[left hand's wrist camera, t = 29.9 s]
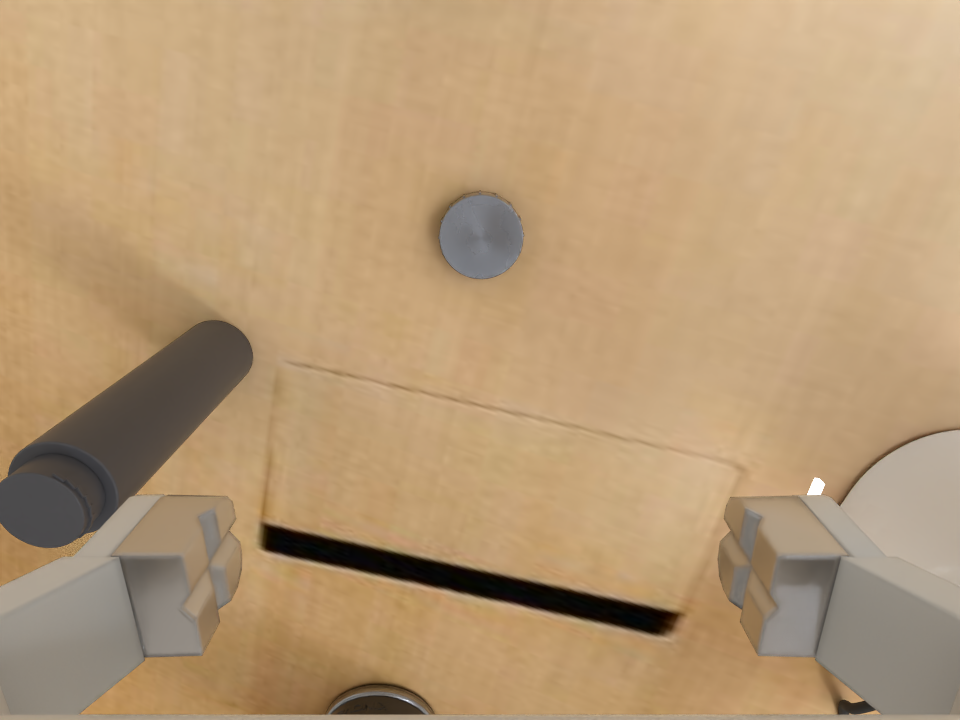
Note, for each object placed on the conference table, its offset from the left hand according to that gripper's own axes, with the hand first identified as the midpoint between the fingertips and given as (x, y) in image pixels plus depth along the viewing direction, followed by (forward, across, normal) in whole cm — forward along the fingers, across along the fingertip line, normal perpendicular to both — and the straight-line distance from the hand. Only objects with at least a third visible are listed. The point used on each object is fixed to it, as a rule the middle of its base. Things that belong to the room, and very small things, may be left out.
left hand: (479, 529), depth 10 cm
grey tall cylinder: (+29, +17, +8) cm, 34 cm away
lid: (+28, 0, 0) cm, 28 cm away
